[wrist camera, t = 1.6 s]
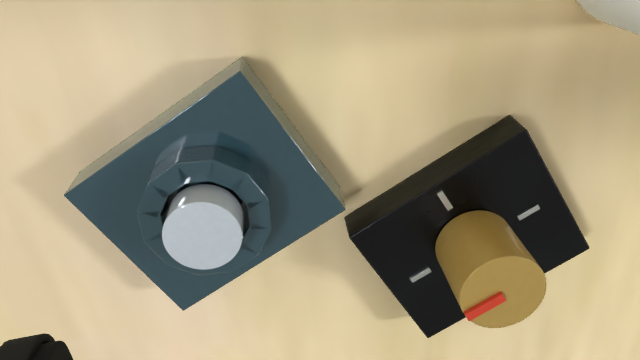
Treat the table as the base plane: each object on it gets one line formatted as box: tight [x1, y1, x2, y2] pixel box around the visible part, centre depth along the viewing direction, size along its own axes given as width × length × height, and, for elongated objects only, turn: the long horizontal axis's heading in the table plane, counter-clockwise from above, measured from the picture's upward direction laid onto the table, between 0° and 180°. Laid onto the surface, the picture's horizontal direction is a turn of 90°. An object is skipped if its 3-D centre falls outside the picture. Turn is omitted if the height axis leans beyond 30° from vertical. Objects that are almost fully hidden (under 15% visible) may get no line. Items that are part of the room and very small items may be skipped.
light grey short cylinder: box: [162, 184, 244, 270], centre depth 29 cm, size 4×4×2 cm
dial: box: [435, 210, 546, 328], centre depth 33 cm, size 5×5×5 cm
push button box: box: [64, 57, 345, 311], centre depth 32 cm, size 12×10×5 cm
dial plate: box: [345, 115, 589, 338], centre depth 36 cm, size 12×10×3 cm
